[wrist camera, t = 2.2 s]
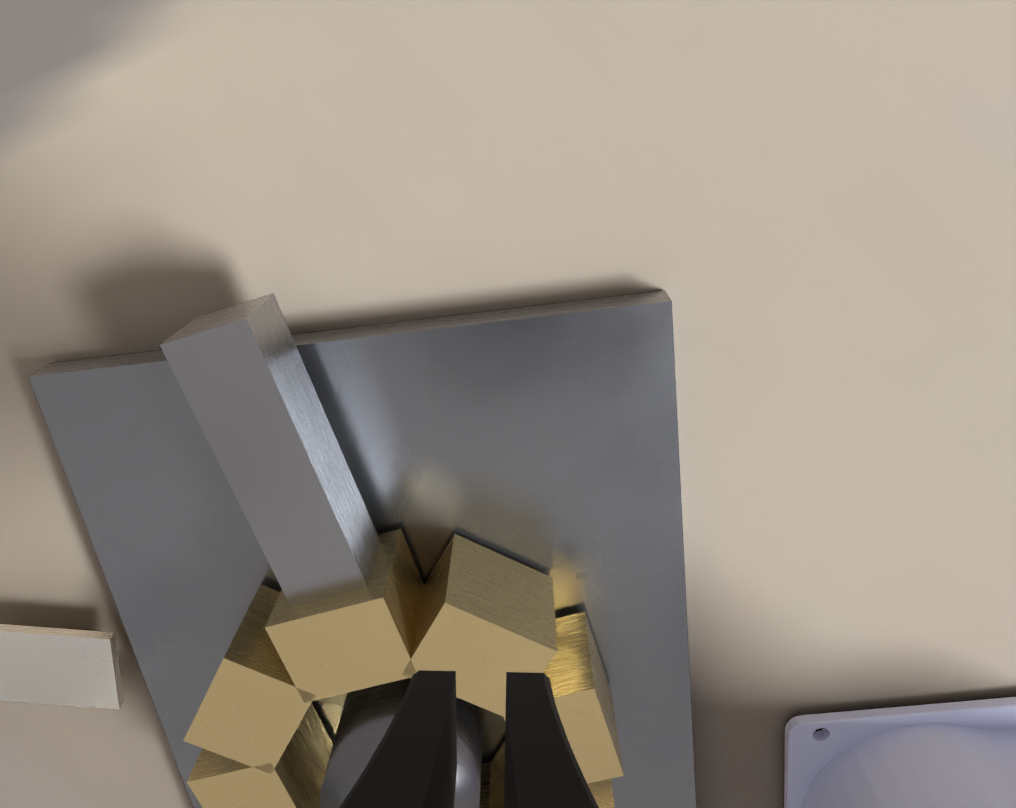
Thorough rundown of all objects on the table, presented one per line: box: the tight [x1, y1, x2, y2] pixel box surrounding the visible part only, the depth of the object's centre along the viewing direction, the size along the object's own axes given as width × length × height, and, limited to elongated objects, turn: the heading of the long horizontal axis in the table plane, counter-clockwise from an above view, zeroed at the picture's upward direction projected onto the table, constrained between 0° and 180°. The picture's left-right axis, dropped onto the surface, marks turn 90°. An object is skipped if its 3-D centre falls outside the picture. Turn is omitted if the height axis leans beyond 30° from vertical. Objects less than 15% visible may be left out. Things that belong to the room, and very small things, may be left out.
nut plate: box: [0, 290, 696, 808], centre depth 23 cm, size 21×22×5 cm
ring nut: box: [160, 293, 624, 808], centre depth 21 cm, size 18×11×3 cm, turn 17°
